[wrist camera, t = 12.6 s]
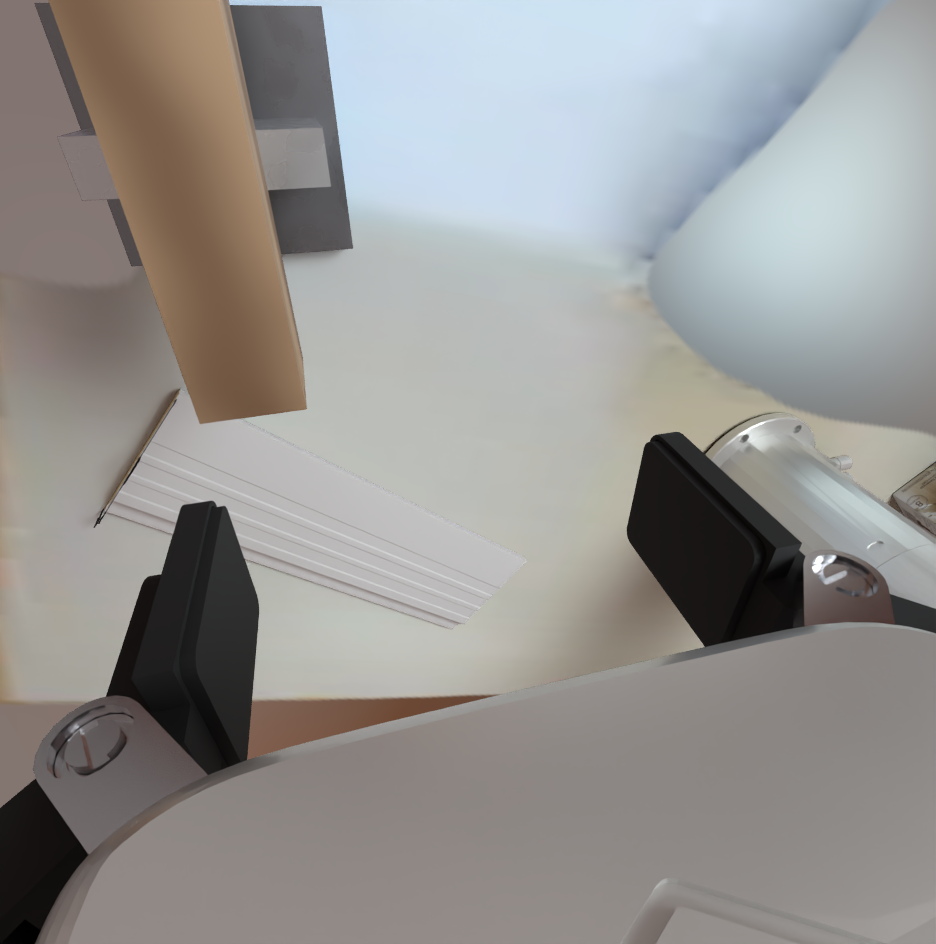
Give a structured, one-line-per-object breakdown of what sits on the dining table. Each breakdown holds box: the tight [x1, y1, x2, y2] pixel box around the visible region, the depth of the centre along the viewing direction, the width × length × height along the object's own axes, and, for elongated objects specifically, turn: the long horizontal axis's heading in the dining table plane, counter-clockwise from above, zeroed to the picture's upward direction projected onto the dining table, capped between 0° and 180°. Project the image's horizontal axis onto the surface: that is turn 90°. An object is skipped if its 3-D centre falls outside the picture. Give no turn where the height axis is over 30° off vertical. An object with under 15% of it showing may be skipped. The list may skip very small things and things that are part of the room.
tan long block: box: [49, 0, 307, 424], centre depth 18 cm, size 4×16×5 cm, turn 1°
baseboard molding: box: [94, 389, 526, 629], centre depth 42 cm, size 31×3×12 cm
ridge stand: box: [35, 3, 353, 266], centre depth 23 cm, size 11×10×8 cm
